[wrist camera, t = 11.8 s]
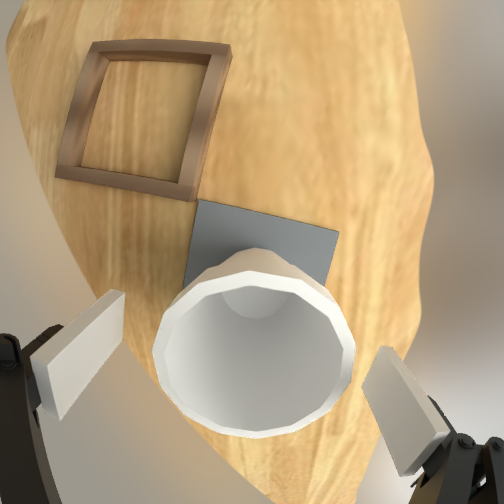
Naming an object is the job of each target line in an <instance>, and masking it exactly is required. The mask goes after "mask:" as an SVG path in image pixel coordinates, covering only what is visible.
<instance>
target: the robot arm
mask: <svg viewBox="0 0 504 504" xmlns="http://www.w3.org/2000/svg"><path fill="white" fill-rule="evenodd" d="M124 302H125V292H122V291H119V290H116V289H112V288H111V289H110V290H109V291H108V292H106V293H105V294H104V295H103V296H101V297H100V298H99V299H98V300H96V301H95V302H94V303H93V304H91V305H90V306H89V307H88V308H86V309H85V310H84V311H83V312H81V313H80V314H79V315H78V316H77V317H75V318H74V319H73V320H72V321H71V322H70V323H68V324H67V325H66V326H65V327H64V326H62V325H60V324H58V325H55V326H52V327H49V328H48V329H46V330H45V331H44V332H43V333H41V335H39V336H38V337H36V339H34V340H33V341H32V342H30V343H29V344H28V345H27V346H25V347H24V348H23V349H22V350H21V348H20V344H19V340H18V339H17V338H16V337H15V336H13V335H11V334H5V333H3V334H0V497H1V501H2V504H62V502H61V499H60V497H59V494H58V491H57V488H56V485H55V482H54V479H53V476H52V472H51V469H50V466H49V462H48V458H47V454H46V451H45V446H44V442H43V438H42V433H41V428H40V423H39V417H38V413H37V410H36V408H37V407H38V406H39V405H40V404H41V403H42V407H43V410H44V413H45V414H47V415H49V416H51V417H53V418H55V419H57V420H59V421H61V420H62V418H63V417H64V415H65V414H66V413H67V411H68V410H69V409H70V407H71V406H72V405H73V403H74V402H75V401H76V399H77V398H78V397H79V395H80V394H81V392H82V391H83V390H84V389H85V387H86V386H87V385H88V383H89V382H90V380H91V379H92V378H93V377H94V376H95V374H96V373H97V372H98V370H99V369H100V368H101V366H102V365H103V364H104V363H105V361H106V360H107V359H108V357H109V356H110V355H111V354H112V352H113V351H114V350H115V349H116V347H117V346H118V345H119V344H120V342H121V341H122V340H123V322H124ZM361 387H362V390H363V392H364V394H365V396H366V399H367V401H368V403H369V405H370V408H371V410H372V412H373V414H374V417H375V419H376V421H377V423H378V426H379V428H380V430H381V433H382V435H383V437H384V440H385V442H386V444H387V447H388V449H389V452H390V454H391V456H392V459H393V461H394V464H395V466H396V469H397V471H398V474H399V476H400V477H403V476H410V475H414V474H415V473H416V472H417V471H418V470H419V468H421V466H422V467H423V469H424V472H423V473H422V474H421V475H420V477H419V478H418V479H417V480H416V481H415V482H414V483H413V484H412V485H411V487H413V486H414V485H415V484H417V485H416V488H415V490H414V492H413V495H412V497H411V499H410V502H409V504H504V441H503V440H502V439H501V438H498V437H491V438H490V439H489V440H488V441H487V442H486V443H485V445H478V444H476V443H475V441H474V440H473V439H472V438H471V437H470V436H468V435H467V434H463V433H458V434H457V433H456V431H455V430H454V428H453V427H452V425H451V424H450V422H449V421H448V419H447V418H446V416H444V413H443V412H442V410H440V407H439V406H438V405H437V403H436V402H435V401H434V400H433V399H432V398H431V397H429V396H427V395H426V393H425V392H424V391H423V389H422V388H421V386H420V385H419V384H418V382H417V381H416V379H415V378H414V376H413V375H412V373H411V372H410V371H409V369H408V368H407V366H406V365H405V364H404V362H403V361H402V359H401V358H400V357H399V355H398V354H397V353H396V351H395V350H394V349H393V347H388V346H380V348H379V350H378V353H377V355H376V357H375V359H374V361H373V363H372V366H371V368H370V370H369V372H368V374H367V376H366V378H365V380H364V382H363V384H362V386H361ZM485 477H486V482H485V484H483V485H482V486H480V482H481V481H482V480H483V479H484V478H485Z"/></svg>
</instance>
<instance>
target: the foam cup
mask: <svg viewBox="0 0 504 504" xmlns="http://www.w3.org/2000/svg"><path fill="white" fill-rule="evenodd" d="M355 349H356V344H355V341H354V339H353V337H352V334H351V332H350V330H349V327H348V325H347V323H346V321H345V318H344V316H343V314H342V312H341V309H340V307H339V306H338V304H337V303H336V301H335V300H334V298H333V297H332V295H331V294H330V292H329V291H328V290H327V289H326V288H325V287H323V286H322V285H321V284H319V283H318V282H316V281H315V280H314V279H312V278H311V277H310V276H308V275H307V274H306V273H304V272H303V271H302V270H300V269H299V268H298V267H296V266H295V265H290V264H289V263H288V262H287V261H285V260H284V259H282V258H281V257H280V256H278V255H277V254H276V253H274V252H273V251H271V250H266V249H261V248H255V247H254V248H250V249H246V250H243V251H239V252H237V253H235V254H234V255H232V256H231V257H230V258H228V259H227V260H226V261H224V262H223V263H221V264H220V265H219V266H215V267H211V268H207V269H206V270H205V271H204V272H203V273H202V274H201V275H199V276H198V277H197V278H196V279H195V280H194V281H193V282H191V283H190V284H189V285H188V286H187V287H186V288H185V289H183V290H182V291H181V292H180V293H179V294H178V295H177V296H176V297H175V299H174V300H173V302H172V303H171V304H170V306H169V307H168V308H167V310H166V311H165V312H164V314H163V317H162V320H161V323H160V326H159V329H158V332H157V335H156V339H155V342H154V345H153V348H152V354H153V358H154V363H155V367H156V371H157V376H158V380H159V384H160V387H161V388H162V389H163V390H164V392H165V393H166V394H167V395H168V397H169V398H170V399H171V400H172V401H173V403H174V404H175V405H176V406H177V407H178V408H179V410H180V411H181V412H182V413H183V414H184V415H185V416H187V417H189V418H191V419H192V420H194V421H196V422H198V423H200V424H202V425H204V426H205V427H207V428H209V429H211V430H213V431H215V432H217V433H221V434H227V435H234V436H241V437H248V438H256V439H258V438H264V437H270V436H276V435H281V434H286V433H291V432H296V431H298V430H299V429H301V428H303V427H305V426H306V425H308V424H310V423H311V422H313V421H315V420H316V419H318V418H320V417H321V416H323V415H325V414H326V413H328V412H329V411H330V410H331V408H332V407H333V406H334V404H335V403H336V402H337V400H338V399H339V398H340V396H341V395H342V394H343V392H344V391H345V389H346V388H347V387H348V385H349V384H350V382H351V378H352V371H353V364H354V357H355Z"/></svg>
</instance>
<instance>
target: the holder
mask: <svg viewBox="0 0 504 504" xmlns="http://www.w3.org/2000/svg"><path fill="white" fill-rule="evenodd" d="M231 60H232V52H231V47H230V45H229V44H221V43H212V42H201V41H188V40H165V39H134V40H113V41H100V42H93V43H92V45H91V47H90V50H89V52H88V55H87V58H86V60H85V63H84V66H83V68H82V71H81V74H80V77H79V80H78V83H77V86H76V89H75V92H74V95H73V99H72V102H71V106H70V109H69V113H68V117H67V120H66V124H65V128H64V133H63V137H62V142H61V146H60V151H59V156H58V161H57V167H56V173H55V177H56V178H62V179H68V180H74V181H80V182H86V183H92V184H98V185H103V186H109V187H114V188H120V189H125V190H131V191H136V192H141V193H146V194H152V195H157V196H162V197H167V198H172V199H177V200H182V201H186V202H193V201H196V199H197V195H198V190H199V185H200V181H201V176H202V172H203V167H204V163H205V159H206V154H207V150H208V146H209V142H210V138H211V134H212V130H213V126H214V122H215V118H216V114H217V110H218V106H219V103H220V99H221V95H222V92H223V88H224V84H225V81H226V77H227V74H228V71H229V67H230V64H231ZM109 61H166V62H181V63H193V64H202V65H208V68H207V71H206V75H205V78H204V81H203V85H202V88H201V92H200V95H199V99H198V102H197V106H196V110H195V113H194V117H193V121H192V125H191V129H190V133H189V137H188V141H187V145H186V149H185V153H184V158H183V162H182V167H181V171H180V176H179V180H178V183H176V182H171V181H166V180H160V179H155V178H149V177H143V176H137V175H131V174H125V173H119V172H113V171H107V170H100V169H93V168H86V167H81V163H82V158H83V153H84V148H85V143H86V139H87V135H88V130H89V126H90V122H91V119H92V115H93V111H94V108H95V104H96V101H97V97H98V94H99V91H100V88H101V85H102V81H103V78H104V75H105V73H106V70H107V67H108V64H109Z"/></svg>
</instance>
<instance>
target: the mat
mask: <svg viewBox="0 0 504 504" xmlns="http://www.w3.org/2000/svg"><path fill="white" fill-rule="evenodd" d="M338 236H339V232H338V231H334V230H330V229H326V228H322V227H318V226H314V225H310V224H306V223H302V222H298V221H294V220H290V219H286V218H282V217H277V216H273V215H269V214H264V213H260V212H256V211H251V210H247V209H243V208H238V207H234V206H229V205H224V204H220V203H215V202H210V201H206V200H201V199H199V203H198V207H197V212H196V217H195V222H194V227H193V233H192V238H191V243H190V249H189V254H188V260H187V266H186V271H185V277H184V283H183V289H185V288H186V287H187V286H188V285H189V284H190V283H191V282H193V281H194V280H195V279H196V278H197V277H198V276H199V275H201V274H202V273H203V272H204V271H205V270H206V269H207V268H211V267H215V266H219V265H220V264H221V263H223V262H224V261H226V260H227V259H228V258H230V257H231V256H232V255H234V254H235V253H237V252H239V251H243V250H246V249H250V248H254V247H255V248H261V249H266V250H271V251H273V252H274V253H276V254H277V255H278V256H280V257H281V258H282V259H284V260H285V261H287V262H288V263H289V264H290V265H295V266H296V267H298V268H299V269H300V270H302V271H303V272H304V273H306V274H307V275H308V276H310V277H311V278H312V279H314V280H315V281H316V282H318V283H319V284H321V285H322V286H323V287H324V285H325V282H326V278H327V275H328V272H329V268H330V265H331V261H332V258H333V254H334V250H335V247H336V243H337V239H338Z"/></svg>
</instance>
